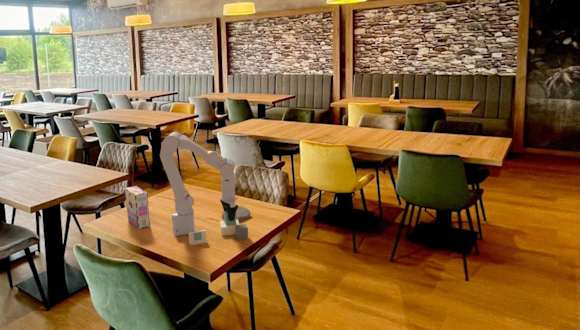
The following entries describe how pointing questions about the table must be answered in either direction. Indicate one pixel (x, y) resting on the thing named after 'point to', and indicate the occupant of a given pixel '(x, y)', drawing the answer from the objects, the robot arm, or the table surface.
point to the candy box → (137, 207)
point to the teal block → (228, 219)
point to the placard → (197, 237)
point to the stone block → (241, 213)
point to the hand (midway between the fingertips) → (229, 217)
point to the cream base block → (227, 228)
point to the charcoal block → (241, 232)
